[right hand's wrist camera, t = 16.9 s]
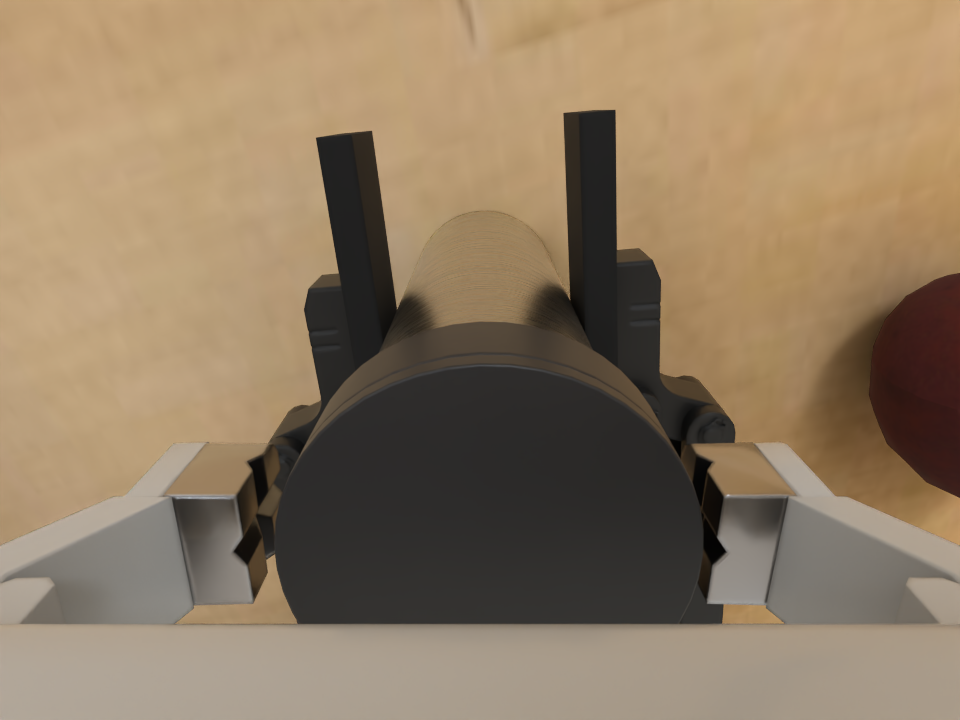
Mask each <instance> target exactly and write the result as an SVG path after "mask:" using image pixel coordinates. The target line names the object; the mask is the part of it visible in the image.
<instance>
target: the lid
mask: <svg viewBox="0 0 960 720" xmlns="http://www.w3.org/2000/svg"><path fill="white" fill-rule="evenodd" d="M274 547H275V556H276V565H277V571H278V575H279V578H280V582H281V586H282V589H283V593H284V595H285V597H286V599H287V602H288V604H289V606H290V608H291V611H292V613H293V614H294V616H295V618H296V619H297V621H298V623H299V624H679V622H680V621H681V619H682V617H683V615H684V613H685V611H686V609H687V607H688V605H689V603H690V602H691V599H692V596H693V594H694V591H695V588H696V585H697V582H698V579H699V574H700V568H701V563H702V557H703V524H702V517H701V510H700V505H699V502H698V499H697V495H696V492H695V489H694V486H693V483H692V481H691V479H690V477H689V475H688V473H687V471H686V469H685V467H684V465H683V463H682V461H681V459H680V457H679V456H678V454H677V452H676V450H675V449H674V447H673V445H672V443H671V442H670V440H669V438H668V436H667V435H666V433H665V431H664V429H663V428H662V426H661V424H660V422H659V421H658V419H657V417H656V415H655V414H654V412H653V410H652V408H651V407H650V405H649V404H648V402H647V401H646V400H645V398H644V397H643V395H642V394H641V392H640V391H639V390H638V388H637V387H636V386H635V385H634V384H633V383H632V382H631V381H630V380H629V379H628V378H627V376H626V375H625V374H624V373H623V372H622V371H621V370H619V369H618V368H617V367H616V366H614V365H613V364H612V363H611V362H609V361H608V360H607V359H606V358H604V357H603V356H602V355H600V354H598V353H597V352H595V351H593V350H592V349H590V348H588V347H587V346H585V345H583V344H582V343H579V342H577V341H575V340H572V339H570V338H568V337H565V336H563V335H561V334H558V333H555V332H552V331H548V330H545V329H541V328H537V327H534V326H529V325H522V324H515V323H508V322H471V323H461V324H453V325H448V326H444V327H440V328H435V329H431V330H427V331H425V332H422V333H419V334H417V335H414V336H411V337H409V338H406V339H403V340H401V341H400V342H398V343H396V344H394V345H392V346H390V347H388V348H386V349H384V350H383V351H381V352H380V353H378V354H377V355H375V356H374V357H373V358H371V359H370V360H368V361H367V362H366V363H364V364H363V365H361V366H360V367H359V368H358V369H357V370H356V371H355V372H354V373H353V374H352V375H351V376H350V377H349V378H348V379H347V380H346V381H345V382H344V383H343V384H342V385H341V387H340V388H339V389H338V390H337V392H336V393H335V394H334V396H333V397H332V398H331V399H330V401H329V403H328V404H327V406H326V408H325V410H324V411H323V413H322V415H321V417H320V418H319V420H318V422H317V424H316V426H315V428H314V430H313V431H312V433H311V435H310V437H309V439H308V441H307V443H306V445H305V446H304V448H303V450H302V452H301V454H300V456H299V458H298V460H297V462H296V463H295V465H294V467H293V469H292V471H291V473H290V475H289V477H288V480H287V482H286V485H285V487H284V490H283V493H282V495H281V498H280V502H279V507H278V512H277V516H276V521H275V541H274Z"/></svg>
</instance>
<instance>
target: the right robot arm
mask: <svg viewBox="0 0 960 720" xmlns="http://www.w3.org/2000/svg"><path fill="white" fill-rule="evenodd" d="M681 461H682V463H683V465H684V467H685V469H686V471H687V473H688V475H689V477H690V479H691V481H692V483H693V486H694V489H695V492H696V495H697V499H698V502H699V505H700V510H701V517H702V524H703V557H702V563H701V568H700V574H699V579H698V582H697V584H698V586H699V588H700V590H701V592H702V594H703V596H704V598H705V601H706V603H707V604H737V605H766V608H767V609H768V610H769V611H770V612H772V613H773V614H774V615H775V616H777V617H778V618H779V619H780V620H782V621H783V622H784V623H785V624H175V623H176V622H177V621H179V620H180V619H181V618H182V617H184V616H185V615H186V614H187V613H189V612H190V611H191V610H192V609H194V606H193V605H222V604H253V603H254V601H255V598H256V596H257V594H258V592H259V590H260V588H261V586H262V584H263V581H264V579H265V577H266V575H267V573H268V571H267V564H266V560H267V559H268V558H270V557H271V556H273V555H274V554H275V547H274V541H275V521H276V516H277V512H278V507H279V502H280V498H281V495H282V493H283V492H282V491H281V490H280V489H279V488H278V487H277V486H276V485H275V483H274V481H275V479H276V477H277V475H278V474H279V472H280V470H281V467H280V461H279V455H278V450H277V449H276V447H275V446H274V444H256V443H209V442H189V443H174V444H173V445H172V446H171V447H170V448H169V449H168V450H167V451H166V452H165V453H164V454H163V455H162V456H161V457H160V458H159V460H158V461H157V462H156V463H155V464H154V465H153V466H152V467H151V468H150V469H149V470H148V471H147V472H146V473H145V475H144V476H143V477H142V478H141V479H140V480H139V481H138V482H137V483H136V484H135V485H134V486H133V487H132V488H131V490H130V491H129V492H128V493H127V494H126V495H125V496H113V497H111V498H109V499H106V500H104V501H102V502H99V503H97V504H95V505H92V506H90V507H88V508H86V509H83V510H81V511H79V512H76V513H74V514H72V515H69V516H67V517H65V518H62V519H60V520H58V521H55V522H53V523H51V524H48V525H46V526H44V527H42V528H39V529H37V530H35V531H32V532H30V533H28V534H25V535H23V536H21V537H18V538H16V539H14V540H11V541H9V542H7V543H4V544H2V545H0V720H960V545H957V544H955V543H953V542H951V541H948V540H946V539H944V538H941V537H939V536H937V535H934V534H932V533H930V532H927V531H925V530H923V529H920V528H918V527H916V526H914V525H911V524H909V523H907V522H904V521H902V520H900V519H897V518H895V517H893V516H890V515H888V514H886V513H884V512H881V511H879V510H877V509H874V508H872V507H870V506H867V505H865V504H863V503H860V502H858V501H856V500H854V499H851V498H849V497H847V496H835V495H834V494H833V493H832V492H831V491H830V490H829V489H828V487H827V486H826V485H825V484H824V483H823V482H822V481H821V480H820V479H819V478H818V477H817V476H816V475H815V473H814V472H813V471H812V470H811V469H810V468H809V467H808V466H807V465H806V464H805V463H804V462H803V461H802V460H801V458H800V457H799V456H798V455H797V454H796V453H795V452H794V451H793V450H792V449H791V448H790V447H789V446H788V445H787V444H785V443H782V442H765V443H753V442H751V443H709V444H688V445H684V448H683V451H682V454H681Z"/></svg>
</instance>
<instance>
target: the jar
mask: <svg viewBox="0 0 960 720" xmlns="http://www.w3.org/2000/svg"><path fill="white" fill-rule="evenodd" d="M471 322H508V323H515V324H522V325H529V326H534V327H537V328H541V329H545V330H548V331H552V332H555V333H558V334H561V335H563V336H565V337H568V338H570V339H572V340H575V341H577V342H579V343H582V344H583V345H585V346H587V347H588V348H590V349H592V347H591V345H590V343H589V341H588V339H587V336H586V334H585V332H584V330H583V328H582V326H581V324H580V321H579V319H578V317H577V315H576V313H575V311H574V308H573V306H572V304H571V302H570V300H569V298H568V296H567V293H566V291H565V289H564V287H563V285H562V283H561V281H560V278H559V276H558V274H557V272H556V270H555V268H554V266H553V263H552V261H551V259H550V257H549V255H548V253H547V250H546V248H545V247H544V245H543V243H542V241H541V240H540V239H539V237H538V236H537V235H536V233H534V232H533V231H532V230H531V229H530V228H529V227H528V226H527V225H525V224H524V223H523V222H521V221H519V220H518V219H516V218H514V217H512V216H509V215H506V214H503V213H499V212H492V211H477V212H471V213H467V214H463V215H460V216H458V217H456V218H454V219H452V220H450V221H448V222H447V223H445V224H444V225H443V226H441V227H440V228H439V229H438V230H437V231H436V232H435V233H434V234H433V235H432V236H431V238H430V239H429V241H428V242H427V244H426V245H425V247H424V249H423V251H422V254H421V256H420V258H419V261H418V263H417V265H416V268H415V270H414V272H413V275H412V277H411V279H410V282H409V284H408V286H407V289H406V291H405V293H404V296H403V298H402V300H401V303H400V305H399V307H398V309H397V312H396V314H395V316H394V319H393V321H392V323H391V326H390V328H389V330H388V333H387V335H386V337H385V340H384V342H383V344H382V347H381V349H380V351H379V353H380V352H381V351H383V350H384V349H386V348H388V347H390V346H392V345H394V344H396V343H398V342H400V341H401V340H403V339H406V338H409V337H411V336H414V335H417V334H419V333H422V332H425V331H427V330H431V329H435V328H440V327H444V326H448V325H453V324H461V323H471ZM592 350H593V349H592Z"/></svg>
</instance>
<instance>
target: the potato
mask: <svg viewBox="0 0 960 720" xmlns="http://www.w3.org/2000/svg"><path fill="white" fill-rule="evenodd" d="M869 396H870V400H871V403H872V407H873V410H874V413H875V415H876V418H877V421H878V423H879V426H880V428H881V430H882V433H883V435H884V438H885V440H886V442H887V444H888V445H889V446H890V447H891V448H892V449H893V450H894V451H895V452H896V453H897V454H898V455H900V456H901V457H902V458H903V459H904V460H905V461H906V462H907V463H908V464H909V465H910V466H911V467H912V468H913V469H914V470H915V471H916V472H917V473H918V474H919V475H920V476H921V477H922V478H923V479H924V480H925V481H926V482H927V483H929V484H931V485H934V486H936V487H938V488H940V489H942V490H944V491H946V492H948V493H951V494H953V495H955V496H957V497H959V498H960V273H958V274H952V275H947V276H944V277H942V278H939V279H936V280H934V281H932V282H930V283H928V284H927V285H925V286H923V287H922V288H920V289H918V290H916V291H915V292H913V293H911V294H909V295H908V296H906V297H905V298H904V299H903V300H902V301H901V303H900V304H899V305H898V306H897V307H896V308H895V309H894V310H893V311H892V313H891V314H890V315H889V316H888V317H887V318H886V319H885V321H884V324H883V326H882V328H881V330H880V333H879V335H878V337H877V339H876V341H875V344H874V346H873V354H872V363H871V376H870V388H869Z"/></svg>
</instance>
